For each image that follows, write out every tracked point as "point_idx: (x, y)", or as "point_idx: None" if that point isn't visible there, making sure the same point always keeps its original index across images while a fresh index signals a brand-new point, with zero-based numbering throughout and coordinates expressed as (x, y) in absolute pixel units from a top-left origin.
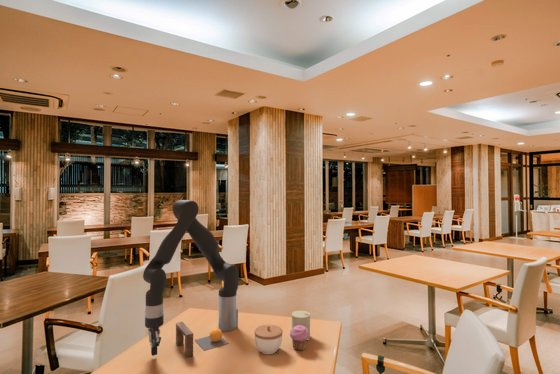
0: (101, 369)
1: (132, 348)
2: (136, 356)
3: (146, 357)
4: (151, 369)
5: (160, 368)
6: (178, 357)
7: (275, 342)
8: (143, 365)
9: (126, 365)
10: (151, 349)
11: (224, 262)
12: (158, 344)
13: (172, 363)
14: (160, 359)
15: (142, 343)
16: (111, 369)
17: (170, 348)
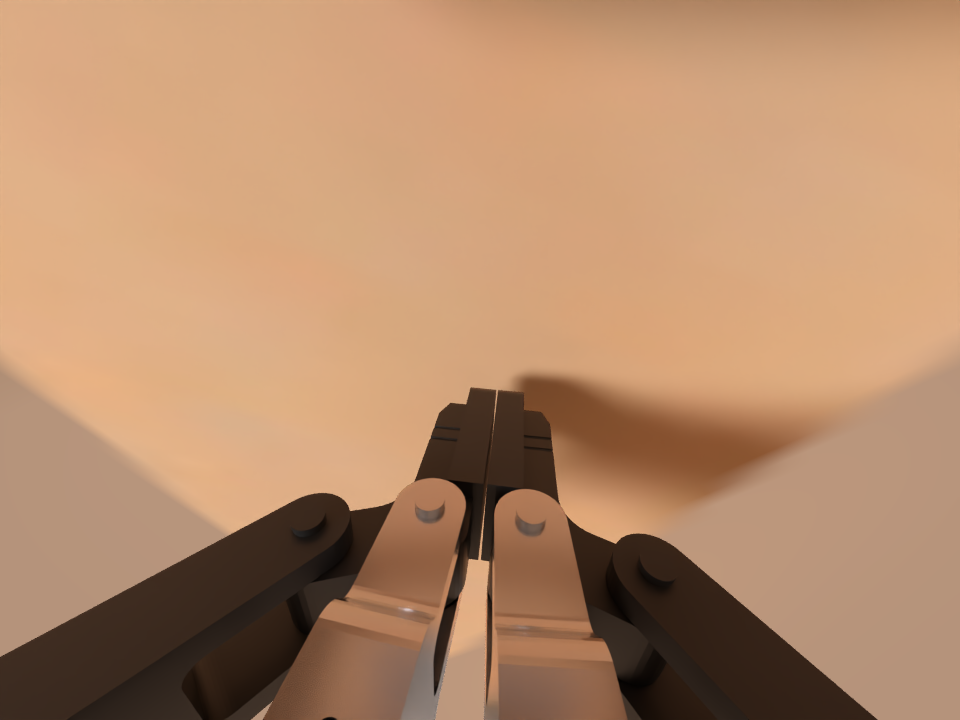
0: None
1: (162, 476)
2: (351, 498)
3: (427, 442)
4: (732, 486)
5: (813, 415)
6: (782, 50)
7: None
8: (579, 509)
9: (473, 586)
10: (483, 512)
11: None
12: (756, 644)
13: (865, 239)
14: (590, 341)
15: (58, 375)
16: (466, 647)
17: (329, 72)
